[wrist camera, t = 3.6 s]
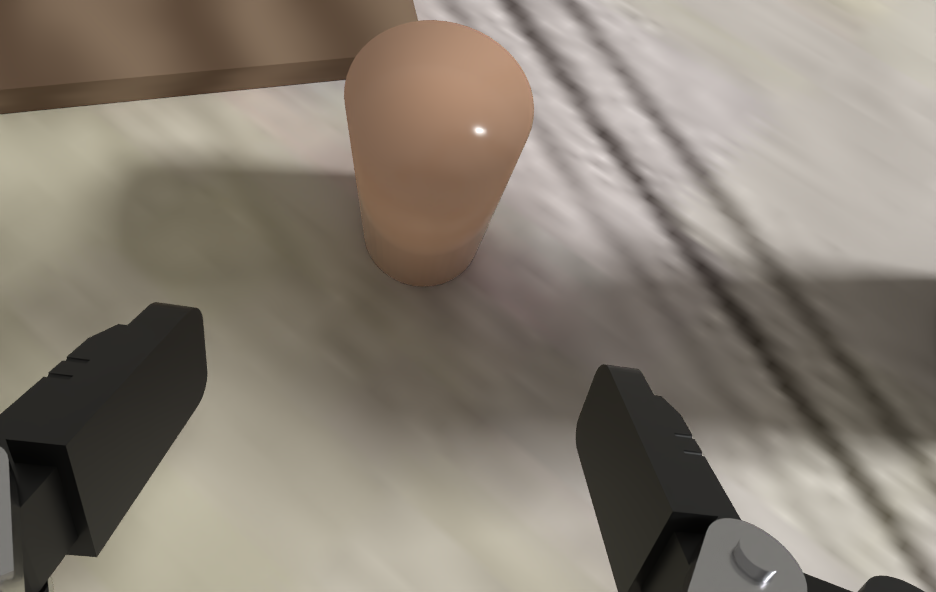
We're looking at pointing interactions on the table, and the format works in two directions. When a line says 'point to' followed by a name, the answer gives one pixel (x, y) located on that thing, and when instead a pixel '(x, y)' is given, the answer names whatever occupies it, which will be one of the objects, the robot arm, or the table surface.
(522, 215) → the table surface
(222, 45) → the ware board
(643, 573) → the robot arm
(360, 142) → the peg
